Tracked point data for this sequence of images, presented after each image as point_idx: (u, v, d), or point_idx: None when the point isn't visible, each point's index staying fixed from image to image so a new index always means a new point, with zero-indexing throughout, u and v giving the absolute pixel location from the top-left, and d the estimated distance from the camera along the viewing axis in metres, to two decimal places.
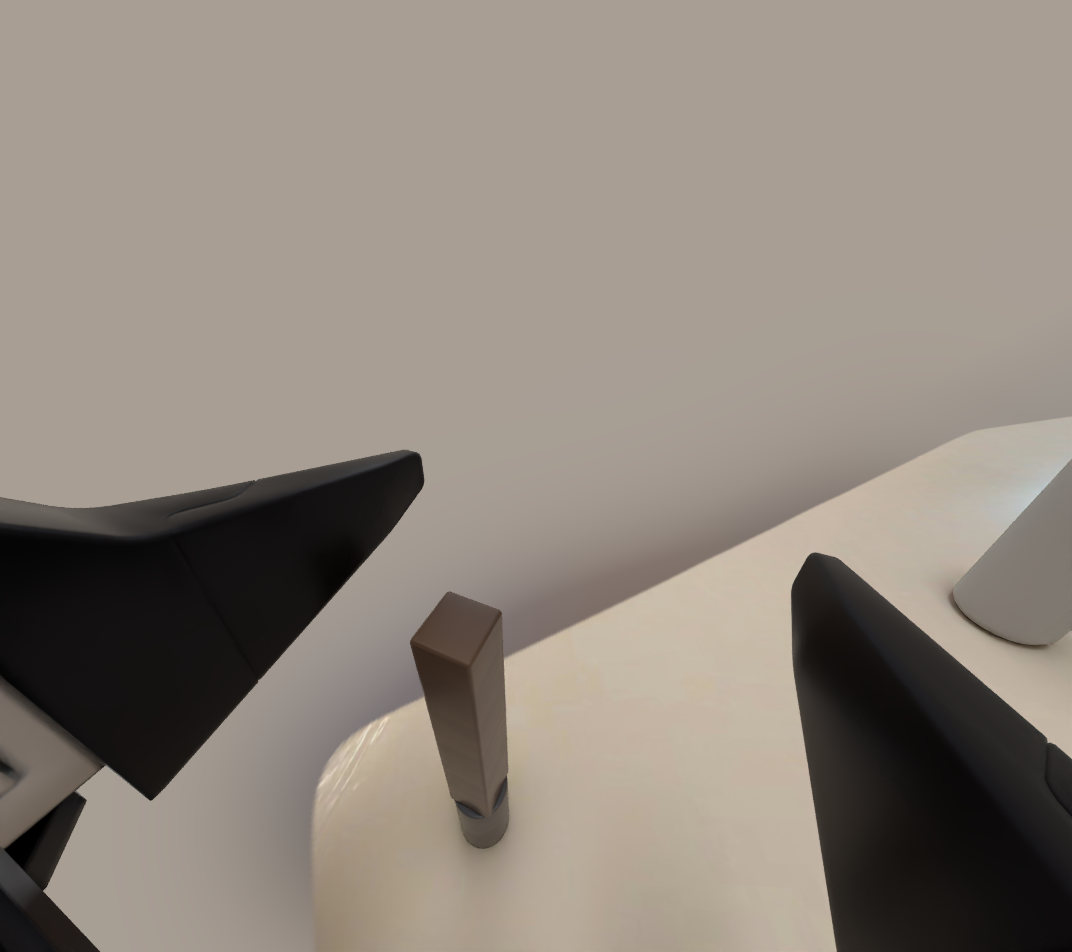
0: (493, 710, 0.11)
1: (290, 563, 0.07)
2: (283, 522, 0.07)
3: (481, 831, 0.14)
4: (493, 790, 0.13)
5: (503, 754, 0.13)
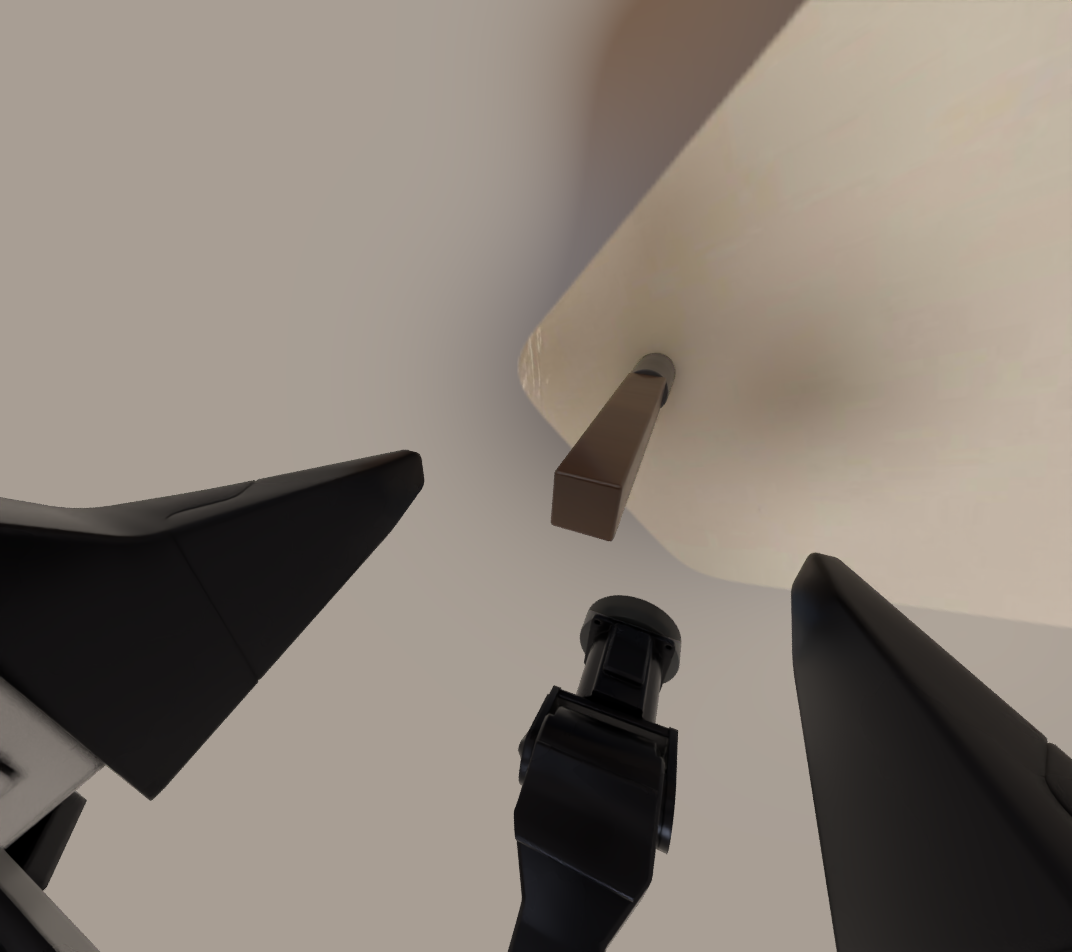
0: (640, 454, 0.11)
1: (290, 563, 0.07)
2: (283, 522, 0.07)
3: None
4: (657, 414, 0.15)
5: (659, 403, 0.14)
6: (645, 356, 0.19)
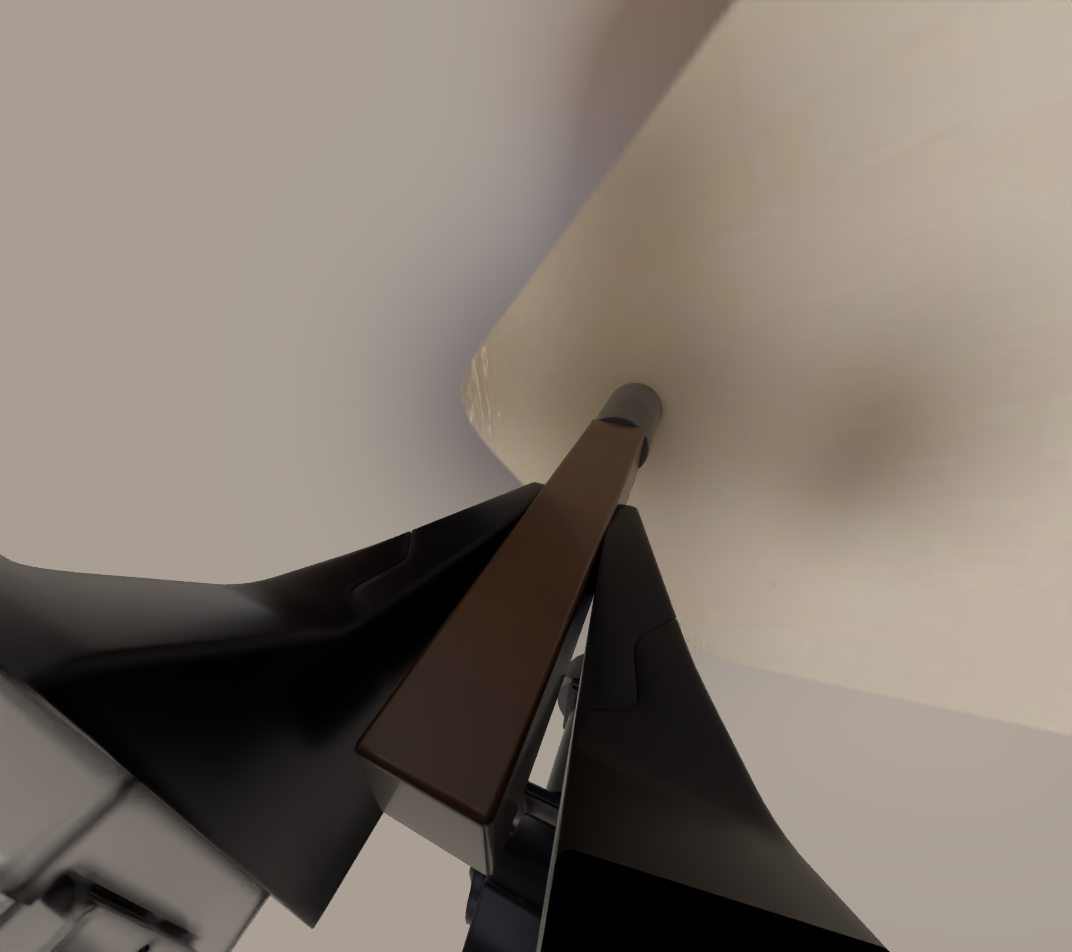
0: (585, 604, 0.06)
1: None
2: (453, 584, 0.06)
3: None
4: (630, 486, 0.10)
5: (630, 478, 0.09)
6: (621, 388, 0.14)
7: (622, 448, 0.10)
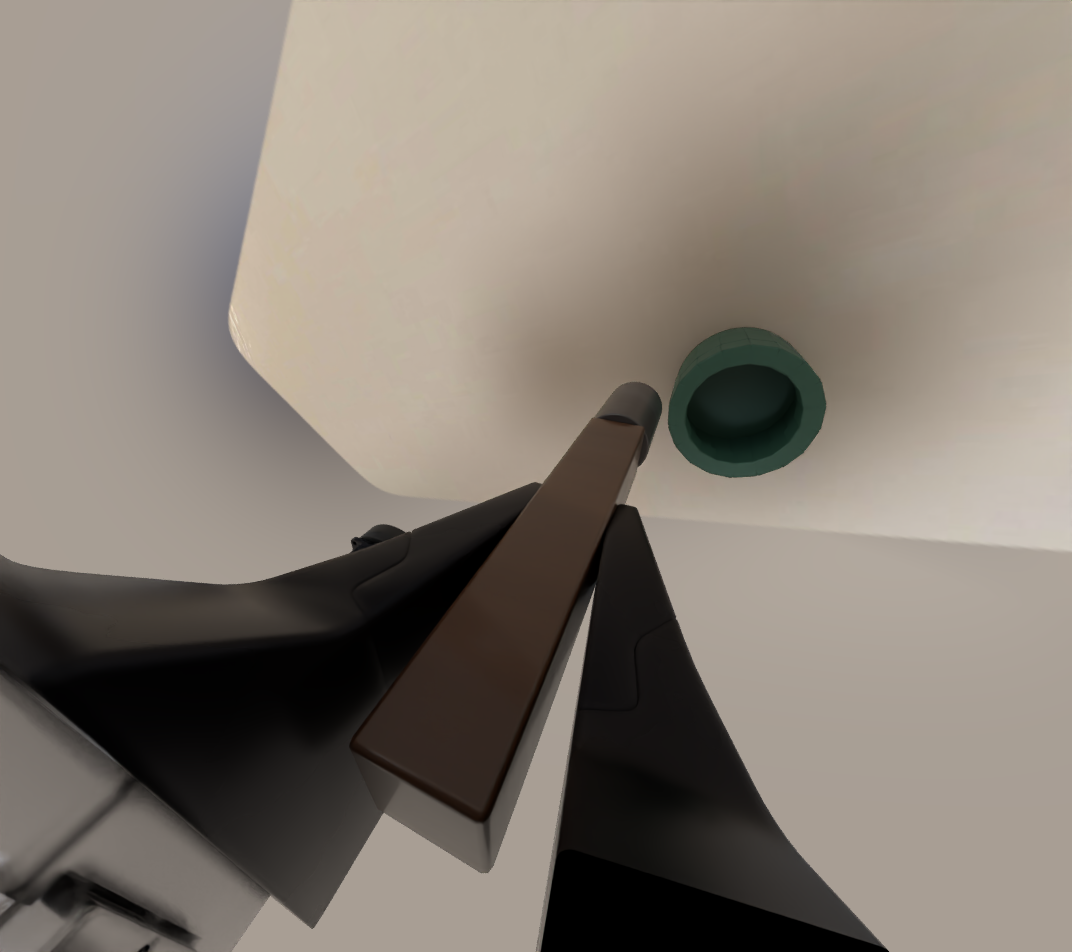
0: (583, 601, 0.06)
1: None
2: (454, 585, 0.06)
3: None
4: (630, 484, 0.10)
5: (629, 475, 0.09)
6: (621, 386, 0.14)
7: (621, 446, 0.10)
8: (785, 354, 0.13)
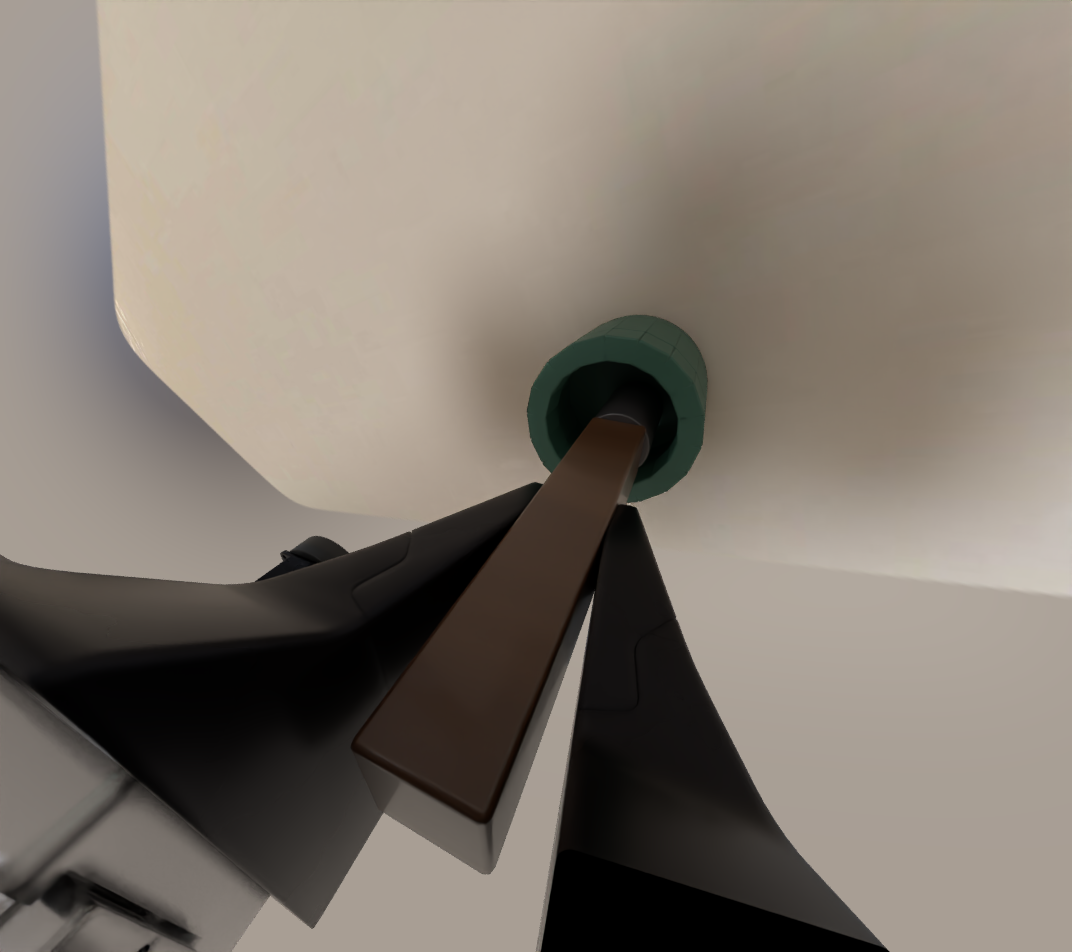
0: (585, 601, 0.06)
1: None
2: (453, 584, 0.06)
3: None
4: (631, 483, 0.10)
5: (630, 475, 0.09)
6: (622, 385, 0.14)
7: (622, 445, 0.10)
8: (646, 347, 0.10)
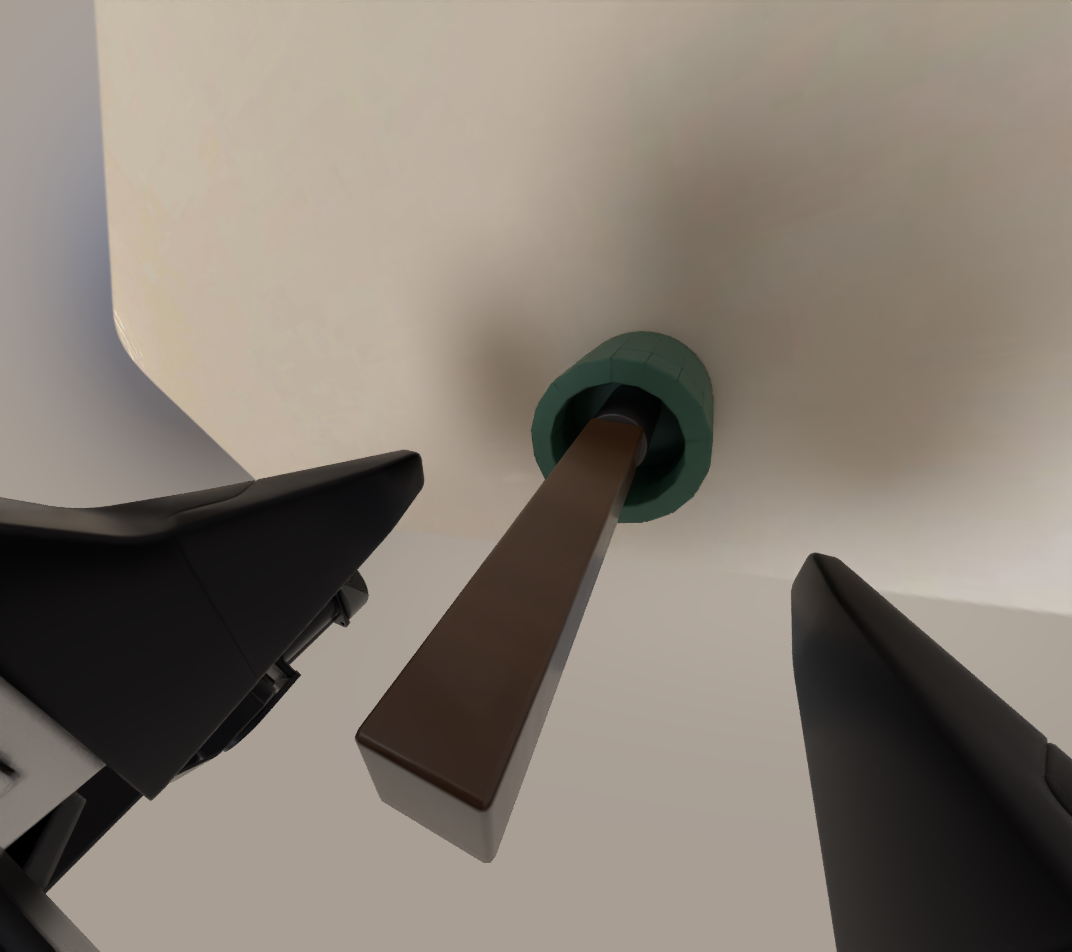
0: (583, 598, 0.06)
1: (290, 563, 0.07)
2: (283, 522, 0.07)
3: None
4: (629, 483, 0.10)
5: (628, 475, 0.09)
6: (620, 386, 0.14)
7: (620, 445, 0.10)
8: (653, 370, 0.10)
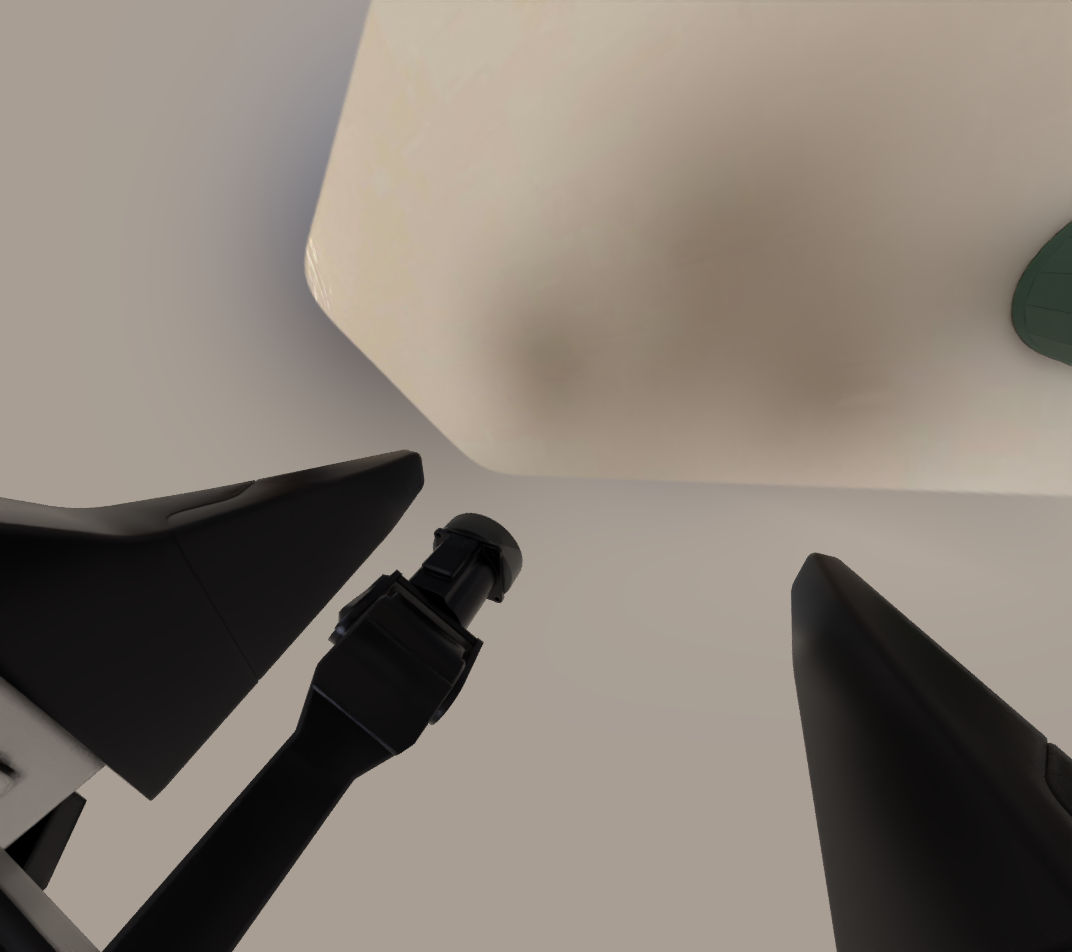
0: None
1: (290, 563, 0.07)
2: (283, 522, 0.07)
3: None
4: None
5: None
6: None
7: None
8: None
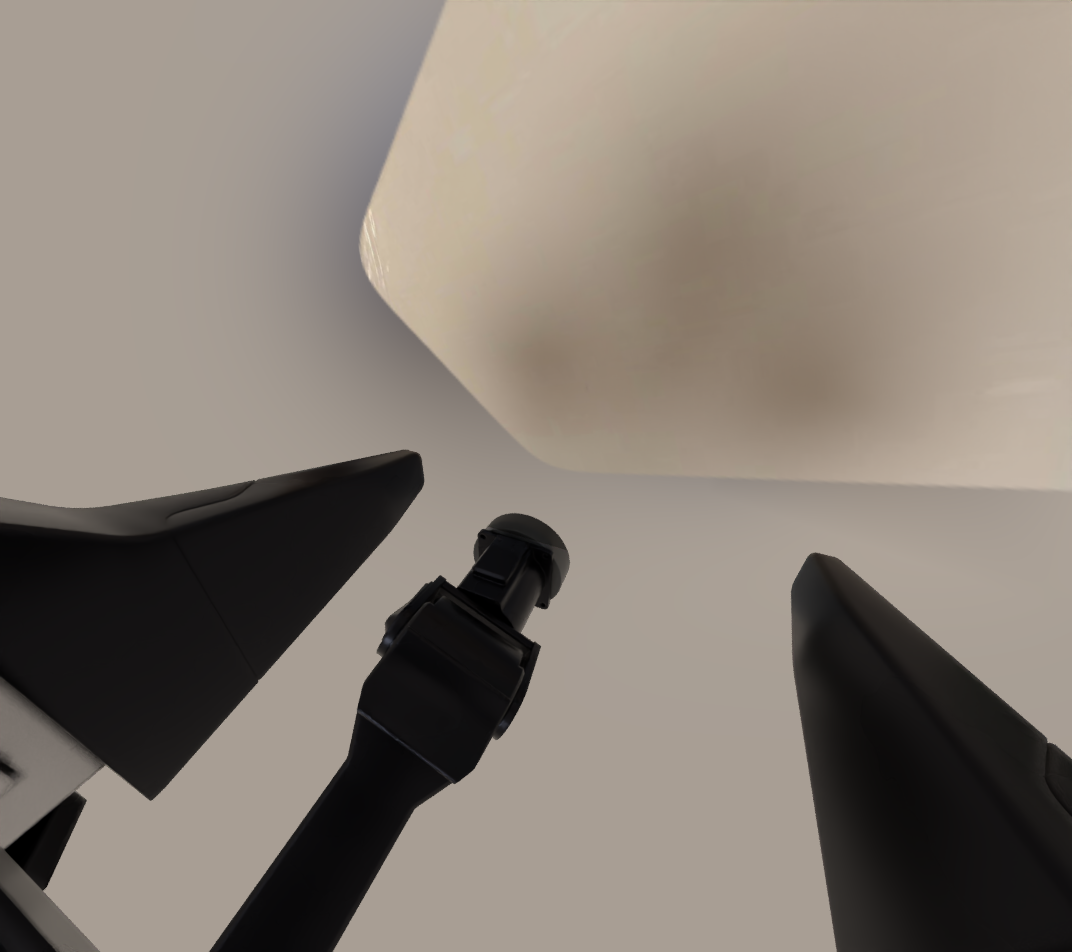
0: None
1: (290, 563, 0.07)
2: (283, 522, 0.07)
3: None
4: None
5: None
6: None
7: None
8: None
